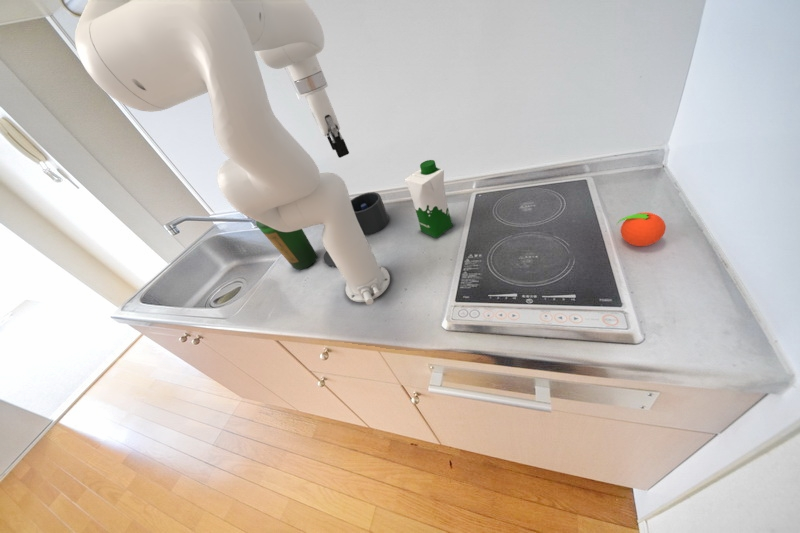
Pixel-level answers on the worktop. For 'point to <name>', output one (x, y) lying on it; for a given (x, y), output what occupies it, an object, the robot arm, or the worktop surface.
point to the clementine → (642, 229)
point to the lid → (328, 259)
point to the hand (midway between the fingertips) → (340, 151)
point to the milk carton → (430, 199)
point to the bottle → (291, 246)
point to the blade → (364, 206)
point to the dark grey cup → (370, 212)
